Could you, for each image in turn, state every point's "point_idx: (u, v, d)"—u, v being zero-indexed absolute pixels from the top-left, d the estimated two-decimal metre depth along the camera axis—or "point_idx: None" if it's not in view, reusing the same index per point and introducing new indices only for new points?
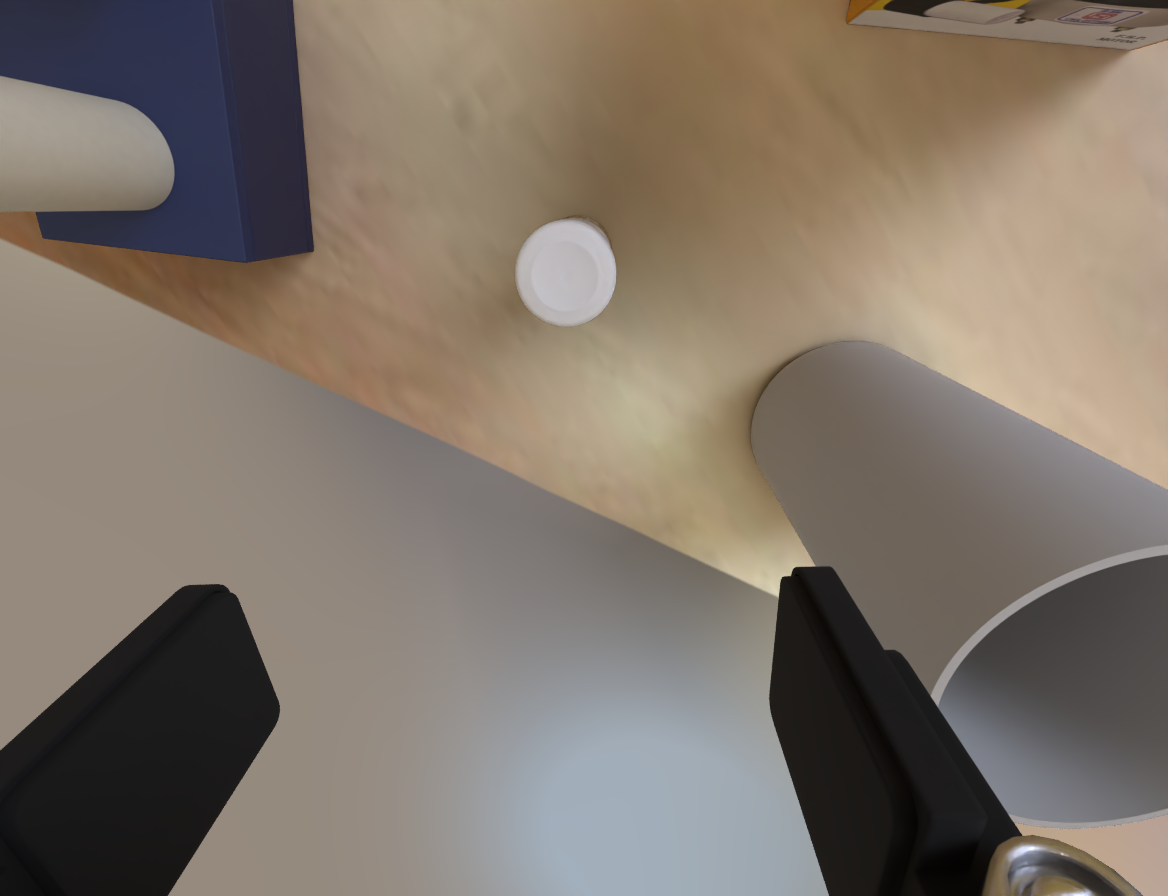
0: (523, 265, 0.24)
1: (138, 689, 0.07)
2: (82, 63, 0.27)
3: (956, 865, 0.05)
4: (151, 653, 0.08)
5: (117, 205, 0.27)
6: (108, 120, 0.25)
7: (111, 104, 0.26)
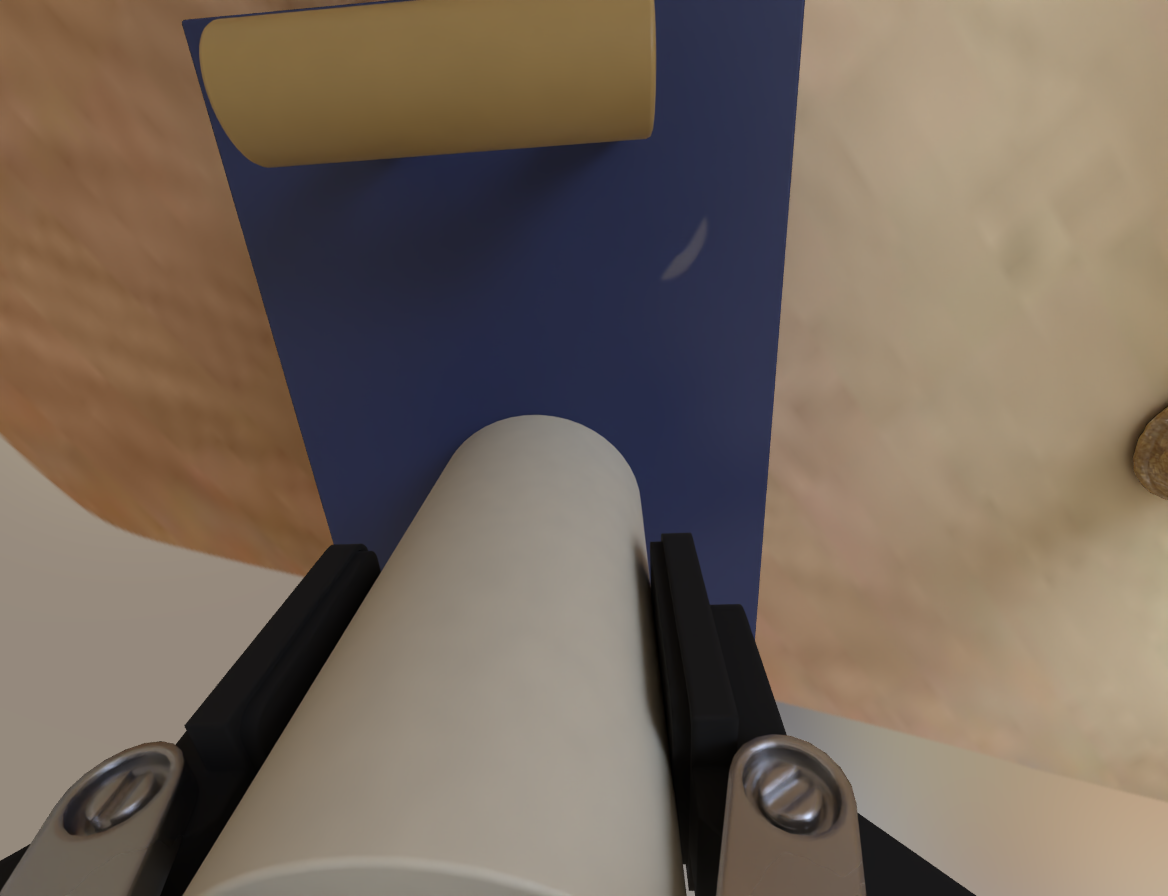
0: None
1: (322, 628, 0.08)
2: (470, 356, 0.12)
3: (723, 762, 0.06)
4: (323, 600, 0.09)
5: None
6: (622, 518, 0.10)
7: (578, 453, 0.11)
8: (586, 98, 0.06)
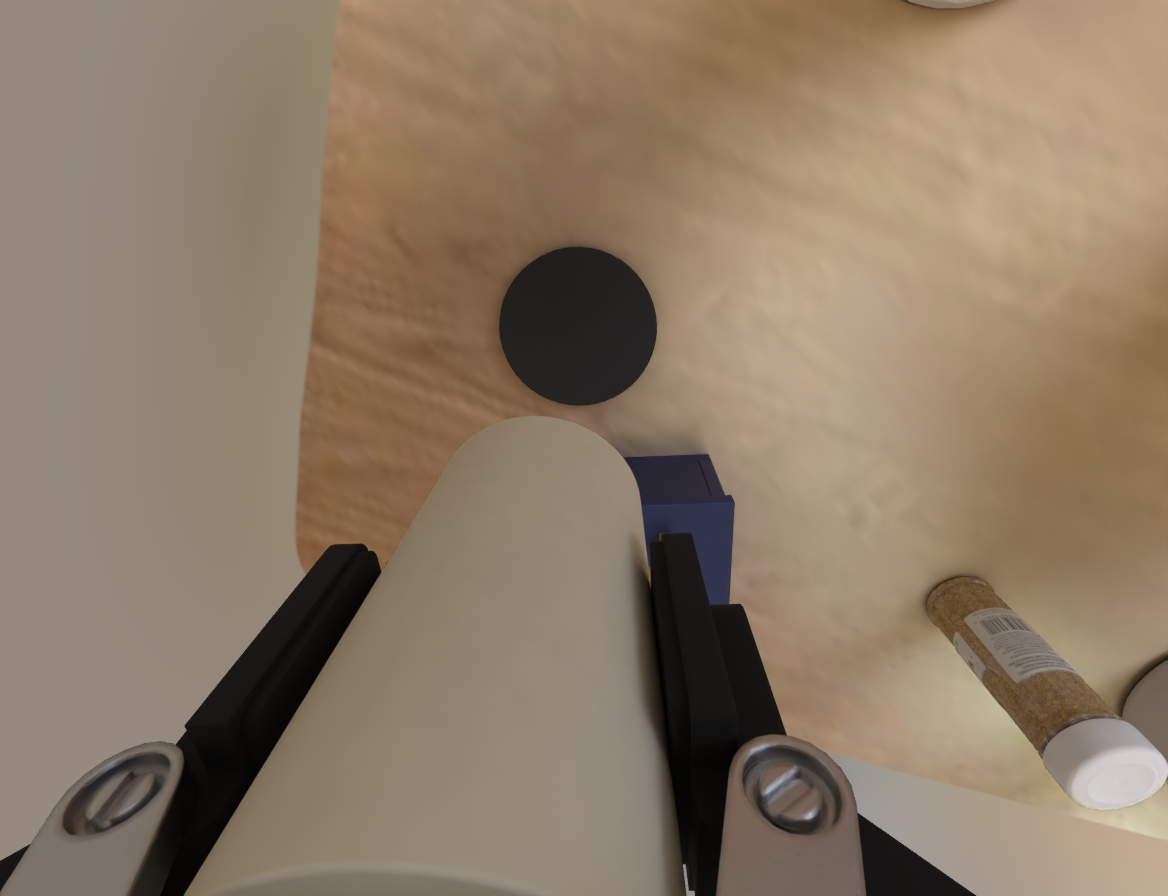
0: (1081, 779, 0.27)
1: (322, 628, 0.08)
2: None
3: (722, 762, 0.06)
4: (323, 600, 0.09)
5: None
6: (622, 519, 0.10)
7: (578, 454, 0.11)
8: None
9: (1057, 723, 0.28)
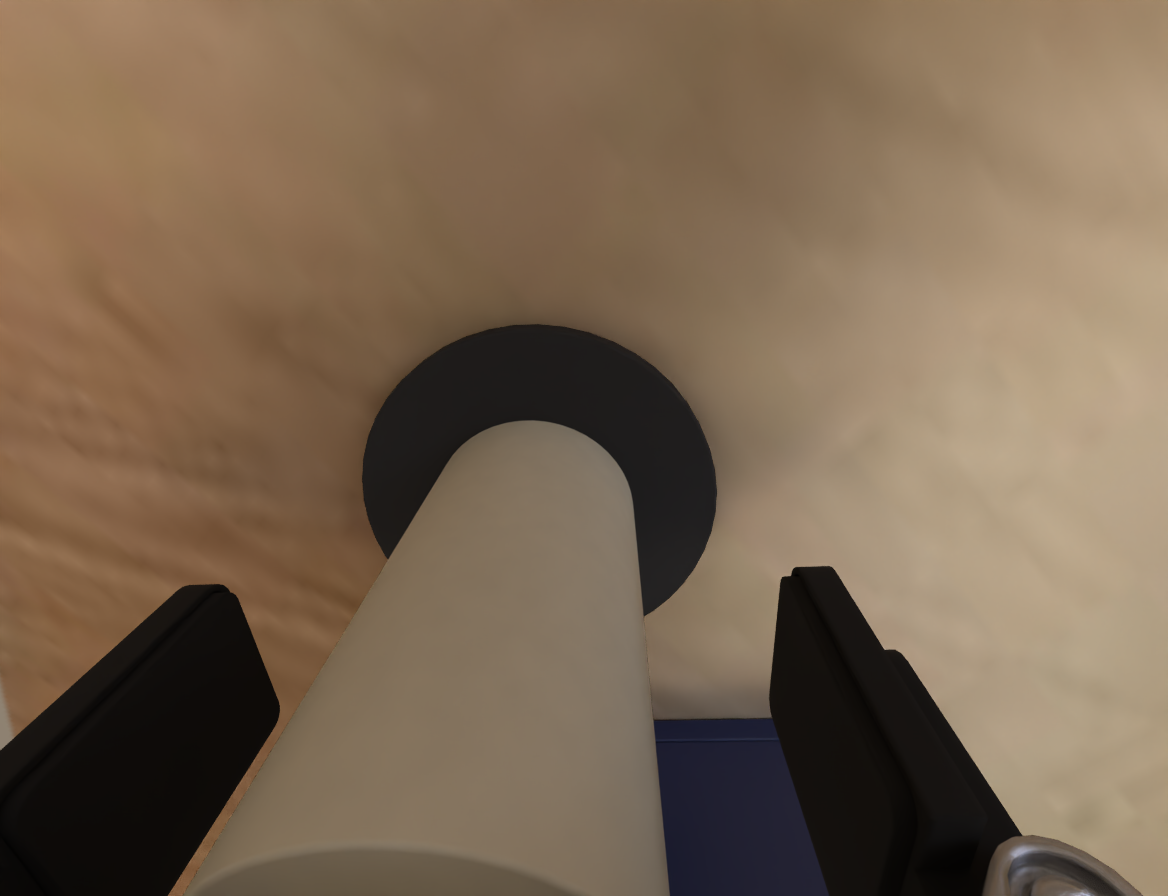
0: None
1: (138, 689, 0.07)
2: None
3: (956, 865, 0.05)
4: (151, 653, 0.08)
5: None
6: (613, 521, 0.11)
7: (570, 458, 0.12)
8: None
9: None
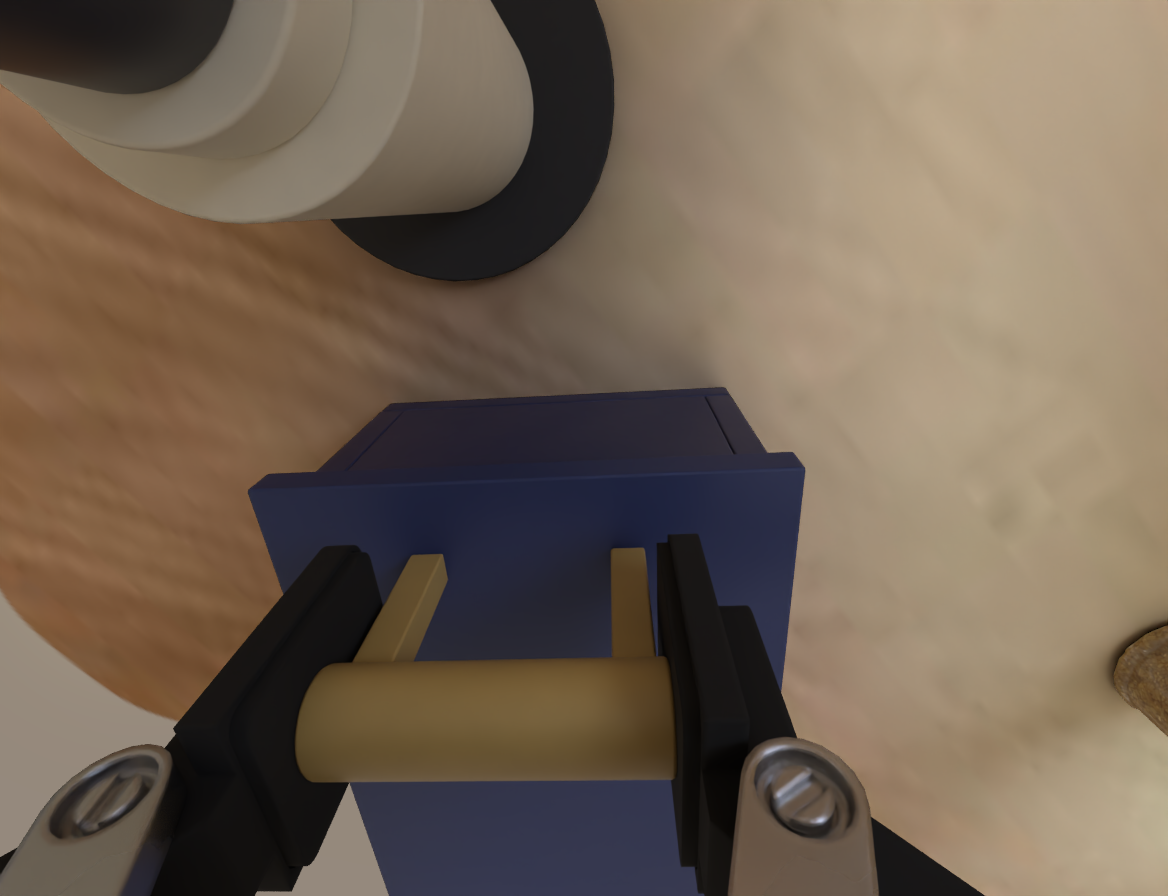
0: None
1: (313, 630, 0.08)
2: None
3: (733, 765, 0.06)
4: (315, 602, 0.09)
5: (476, 192, 0.13)
6: None
7: None
8: (618, 779, 0.08)
9: None
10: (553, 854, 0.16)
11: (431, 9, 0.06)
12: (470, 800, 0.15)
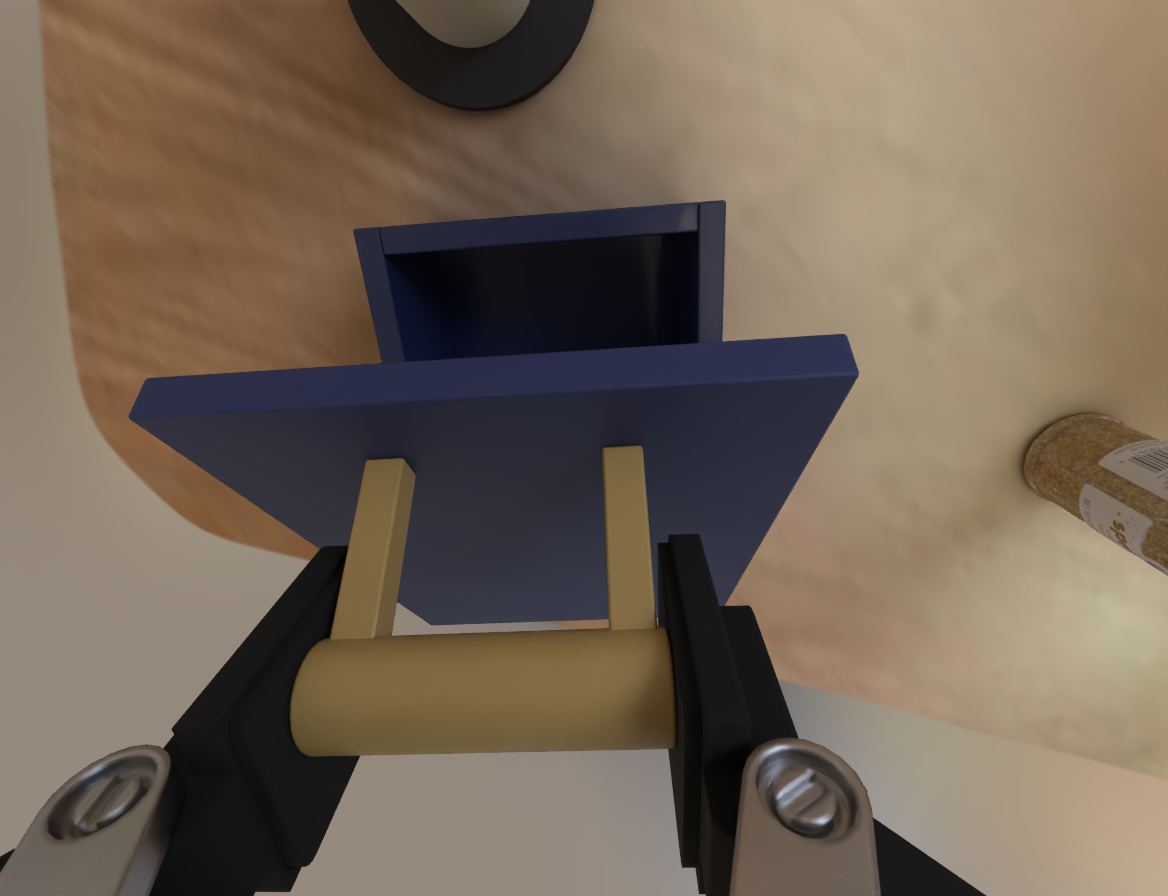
0: None
1: (312, 631, 0.08)
2: (494, 547, 0.14)
3: (735, 765, 0.06)
4: (314, 602, 0.09)
5: (496, 5, 0.17)
6: None
7: None
8: None
9: None
10: (555, 601, 0.19)
11: None
12: (478, 583, 0.17)
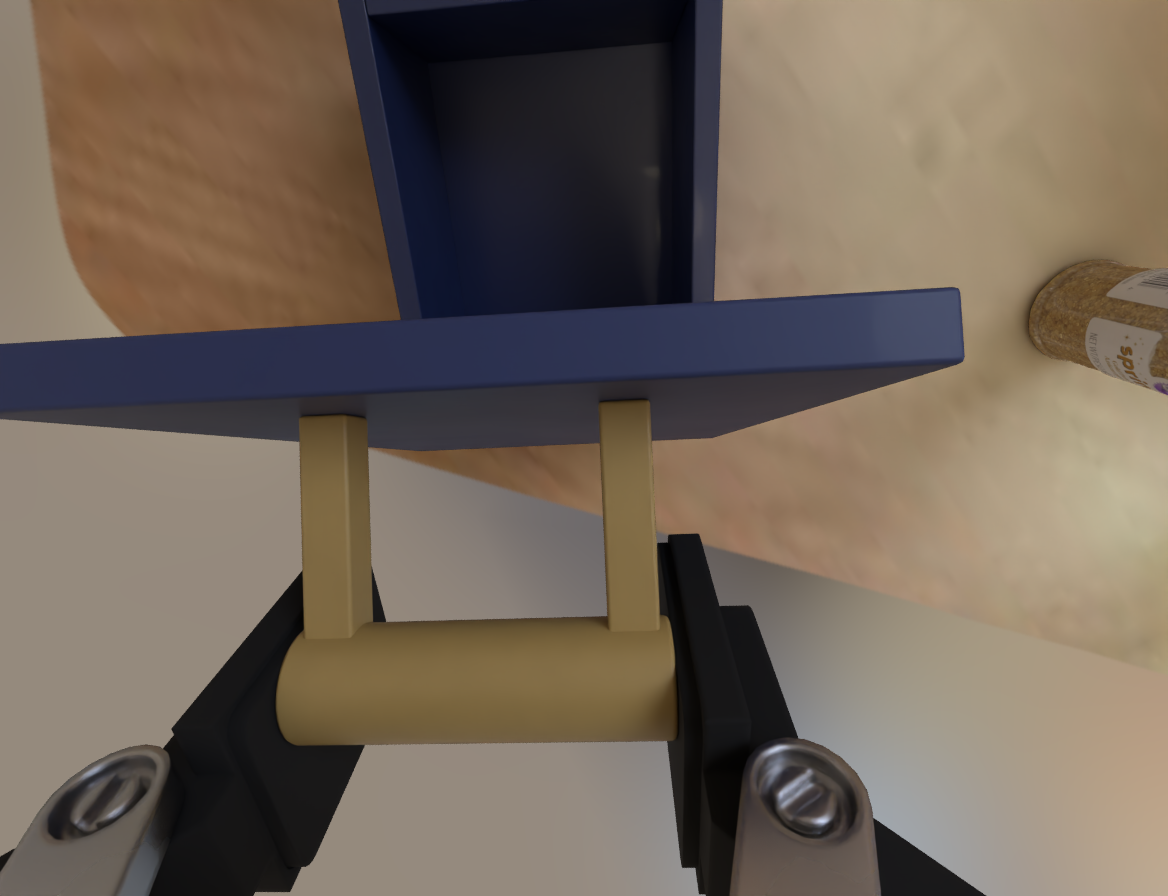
0: None
1: None
2: (475, 432, 0.12)
3: (734, 765, 0.06)
4: None
5: None
6: None
7: None
8: None
9: None
10: (545, 441, 0.18)
11: None
12: (463, 440, 0.16)
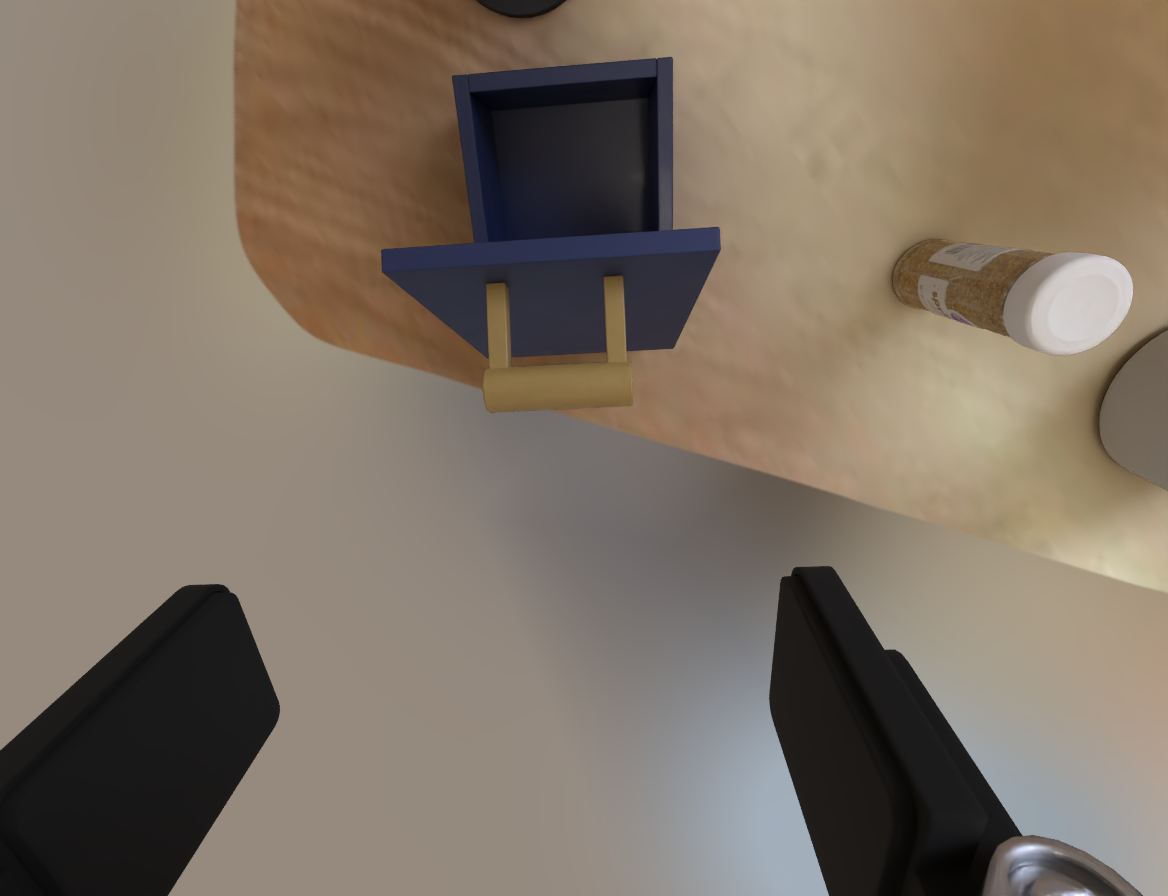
0: (1041, 304, 0.25)
1: (139, 689, 0.07)
2: (540, 316, 0.24)
3: (956, 865, 0.05)
4: (150, 653, 0.08)
5: None
6: None
7: None
8: None
9: (1017, 273, 0.27)
10: (570, 342, 0.30)
11: None
12: (525, 334, 0.28)
